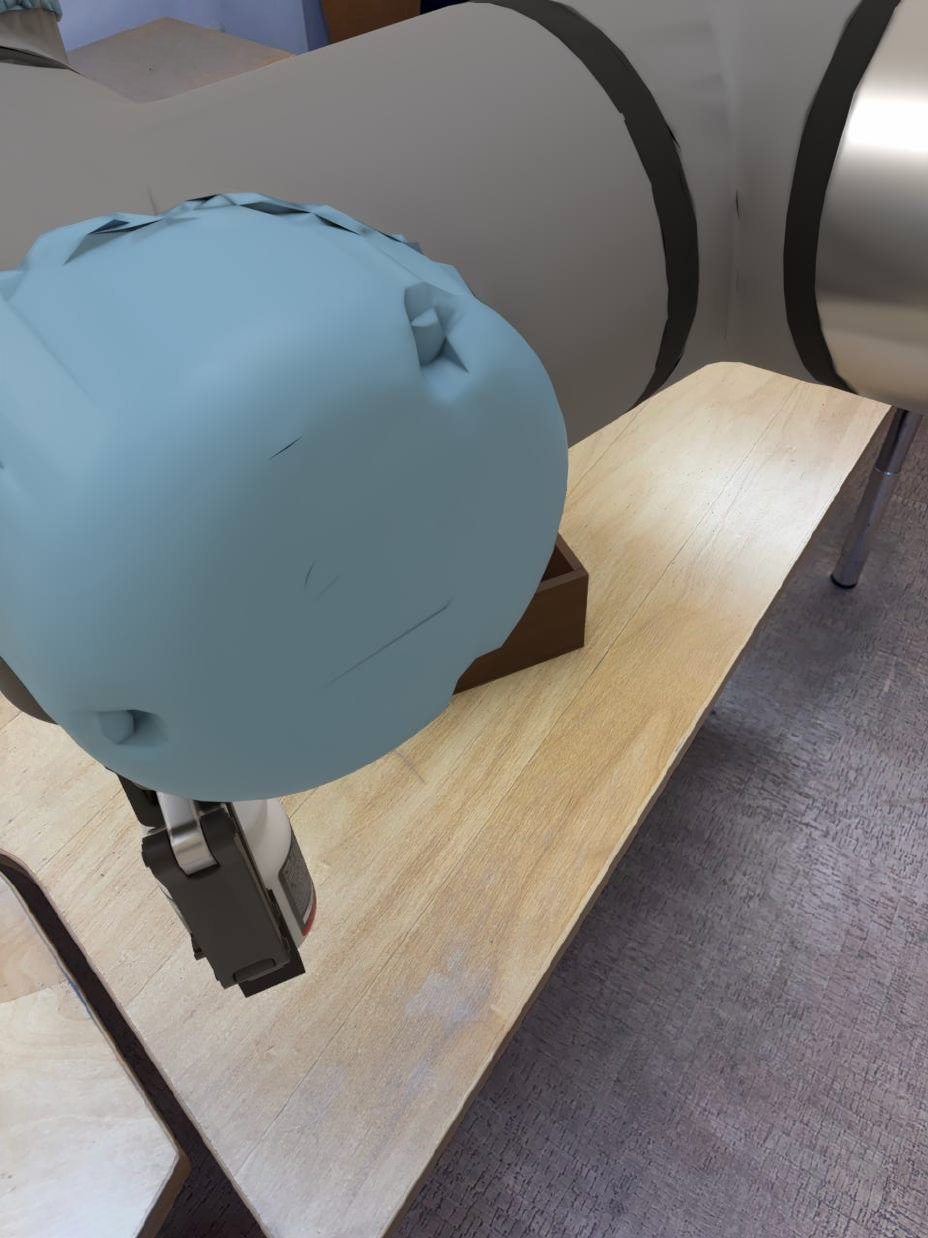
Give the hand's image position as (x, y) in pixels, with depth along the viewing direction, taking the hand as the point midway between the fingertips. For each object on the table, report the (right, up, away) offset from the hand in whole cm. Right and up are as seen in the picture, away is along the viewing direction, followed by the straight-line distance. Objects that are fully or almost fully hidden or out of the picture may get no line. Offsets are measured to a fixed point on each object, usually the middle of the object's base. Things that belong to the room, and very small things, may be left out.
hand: (254, 913), depth 44 cm
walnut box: (+10, +14, +33) cm, 37 cm away
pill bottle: (0, 0, 0) cm, 1 cm away
